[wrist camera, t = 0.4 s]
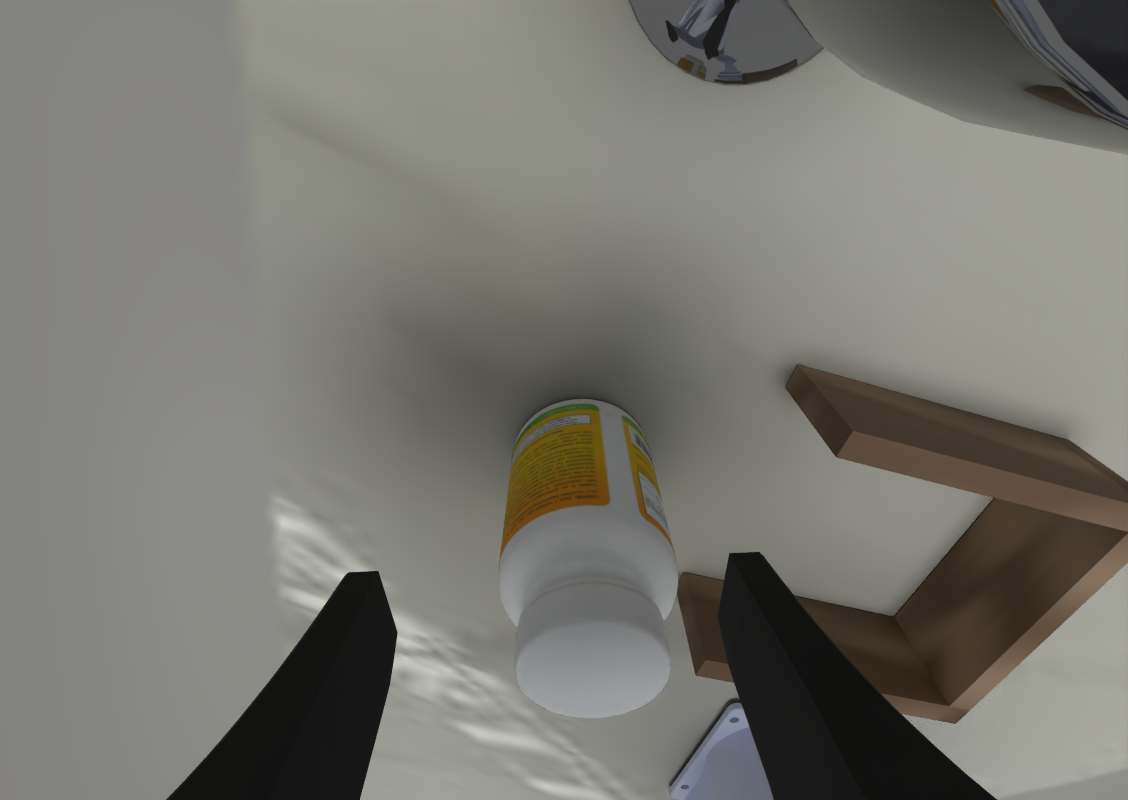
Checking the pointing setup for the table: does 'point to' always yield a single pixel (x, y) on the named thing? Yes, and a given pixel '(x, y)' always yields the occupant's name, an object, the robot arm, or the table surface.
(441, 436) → the table surface
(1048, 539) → the walnut stall
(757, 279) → the table surface
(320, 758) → the robot arm
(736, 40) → the wine glass
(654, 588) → the supplement bottle
